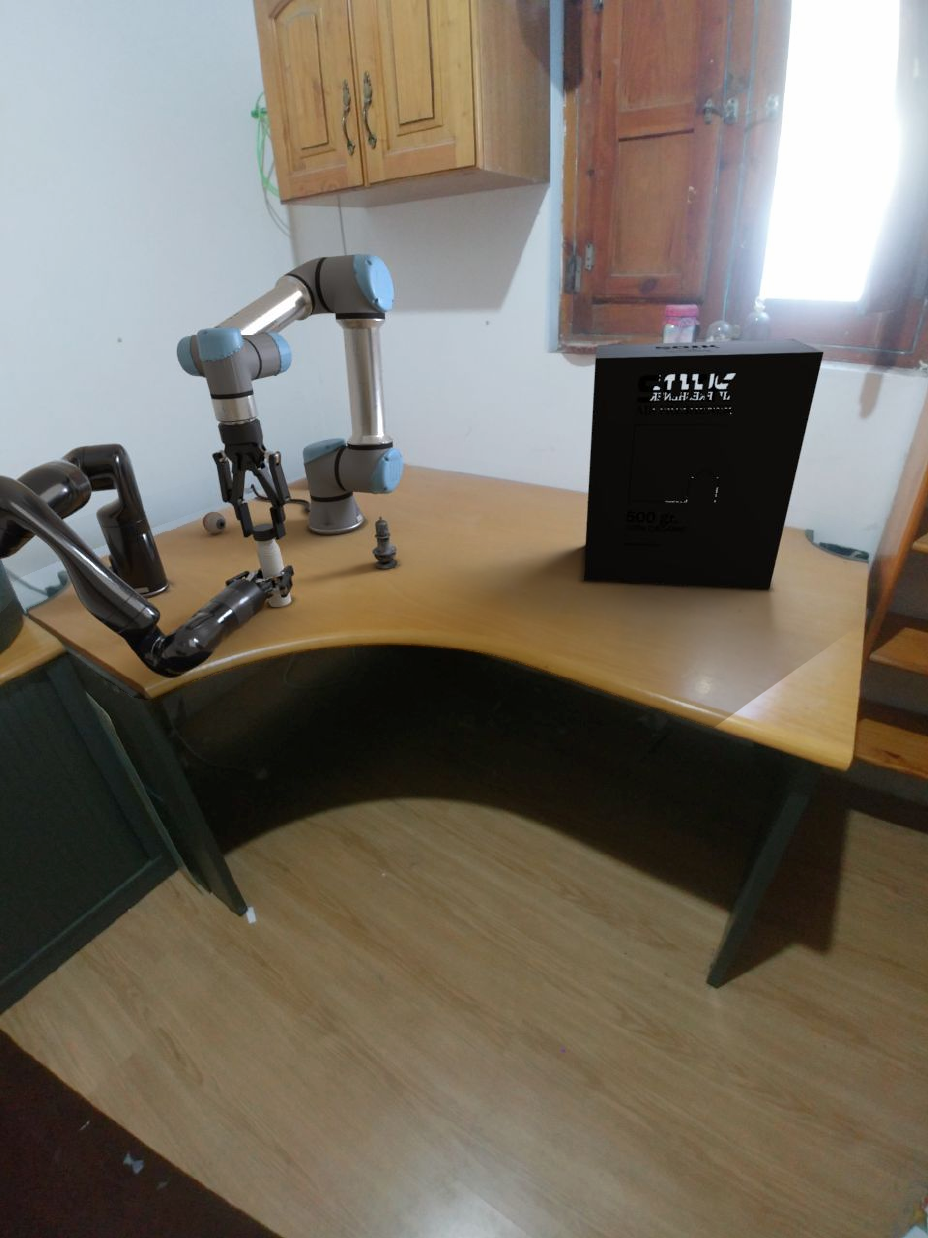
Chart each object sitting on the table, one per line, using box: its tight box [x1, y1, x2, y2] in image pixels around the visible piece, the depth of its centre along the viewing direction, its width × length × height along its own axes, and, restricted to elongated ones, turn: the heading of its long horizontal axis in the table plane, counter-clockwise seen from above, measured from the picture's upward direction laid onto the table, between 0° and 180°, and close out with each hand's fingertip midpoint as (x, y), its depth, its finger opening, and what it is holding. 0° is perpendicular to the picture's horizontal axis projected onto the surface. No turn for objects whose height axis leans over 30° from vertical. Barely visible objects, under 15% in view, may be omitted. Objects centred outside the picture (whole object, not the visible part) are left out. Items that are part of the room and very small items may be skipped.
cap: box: [252, 522, 276, 542], centre depth 123 cm, size 4×5×2 cm
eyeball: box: [202, 511, 227, 535], centre depth 167 cm, size 6×6×6 cm
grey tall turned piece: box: [371, 516, 398, 570], centre depth 142 cm, size 6×6×12 cm
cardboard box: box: [583, 338, 824, 590], centre depth 125 cm, size 38×20×45 cm, turn 78°
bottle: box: [256, 538, 292, 608], centre depth 126 cm, size 5×5×17 cm
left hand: (280, 568), depth 129 cm, fingers closed on bottle, 4 cm apart
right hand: (265, 535), depth 123 cm, fingers open, 7 cm apart
